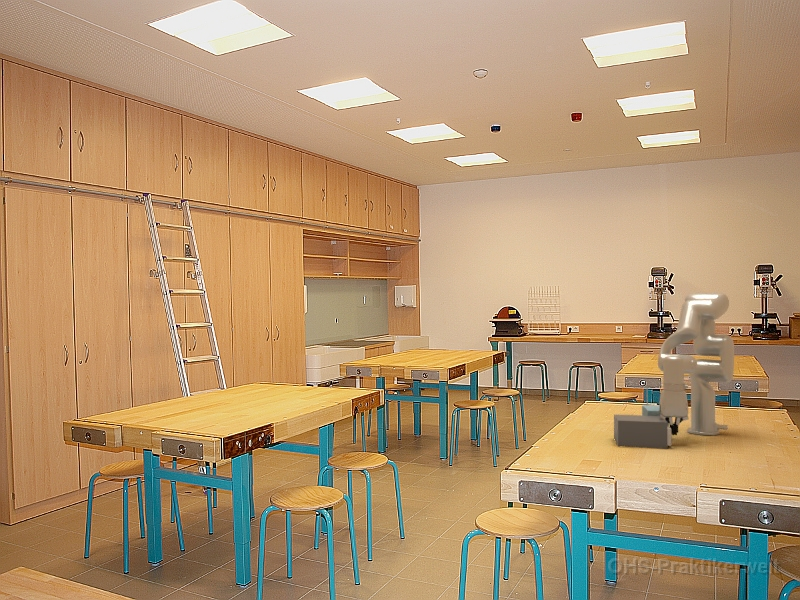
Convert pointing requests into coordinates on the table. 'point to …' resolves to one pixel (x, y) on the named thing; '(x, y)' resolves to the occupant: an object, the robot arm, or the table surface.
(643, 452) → the table surface
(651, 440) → the housing
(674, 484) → the table surface
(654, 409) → the radio
